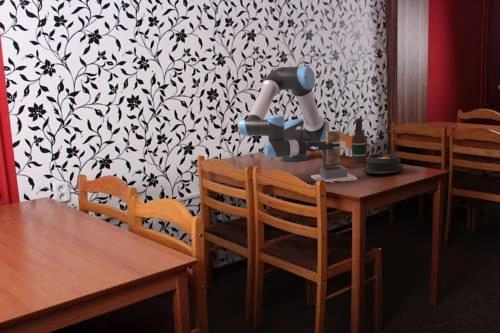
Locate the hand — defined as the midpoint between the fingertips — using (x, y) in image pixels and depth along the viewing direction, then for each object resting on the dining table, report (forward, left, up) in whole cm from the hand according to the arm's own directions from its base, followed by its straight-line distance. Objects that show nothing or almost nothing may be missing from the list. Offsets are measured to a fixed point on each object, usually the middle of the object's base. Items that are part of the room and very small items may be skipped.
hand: (343, 143), depth 261 cm
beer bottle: (-37, -12, -17) cm, 42 cm away
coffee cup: (-15, -17, -17) cm, 28 cm away
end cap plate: (+4, -3, -17) cm, 18 cm away
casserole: (-20, +11, -17) cm, 28 cm away
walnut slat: (+4, -3, -10) cm, 11 cm away
